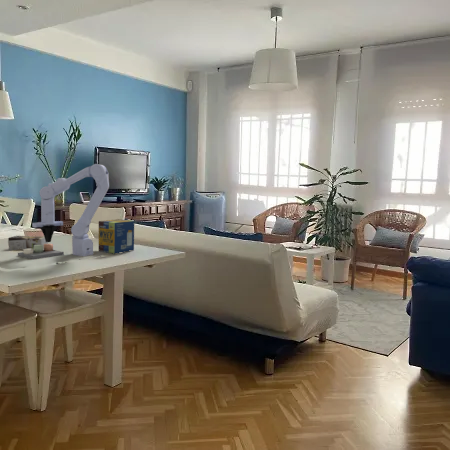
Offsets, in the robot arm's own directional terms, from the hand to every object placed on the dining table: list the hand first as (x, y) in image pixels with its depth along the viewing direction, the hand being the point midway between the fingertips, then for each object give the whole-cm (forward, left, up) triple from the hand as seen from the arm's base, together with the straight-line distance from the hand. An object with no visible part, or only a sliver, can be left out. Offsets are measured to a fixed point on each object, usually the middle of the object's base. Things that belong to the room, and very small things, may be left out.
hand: (48, 241), depth 210 cm
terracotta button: (0, 0, -4) cm, 4 cm away
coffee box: (+14, -8, -3) cm, 17 cm away
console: (-2, +5, -6) cm, 8 cm away
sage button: (0, +5, -4) cm, 6 cm away
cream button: (0, +10, -5) cm, 11 cm away
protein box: (-12, -31, -7) cm, 34 cm away
